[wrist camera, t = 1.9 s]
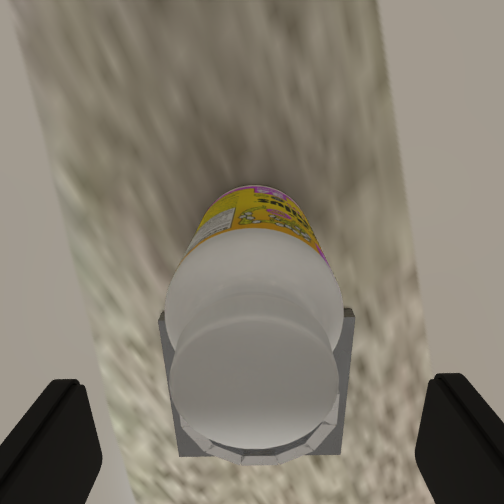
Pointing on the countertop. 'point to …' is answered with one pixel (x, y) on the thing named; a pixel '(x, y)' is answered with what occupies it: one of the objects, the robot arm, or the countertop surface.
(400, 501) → the countertop surface
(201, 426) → the supplement bottle
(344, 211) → the countertop surface
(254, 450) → the ring plate
